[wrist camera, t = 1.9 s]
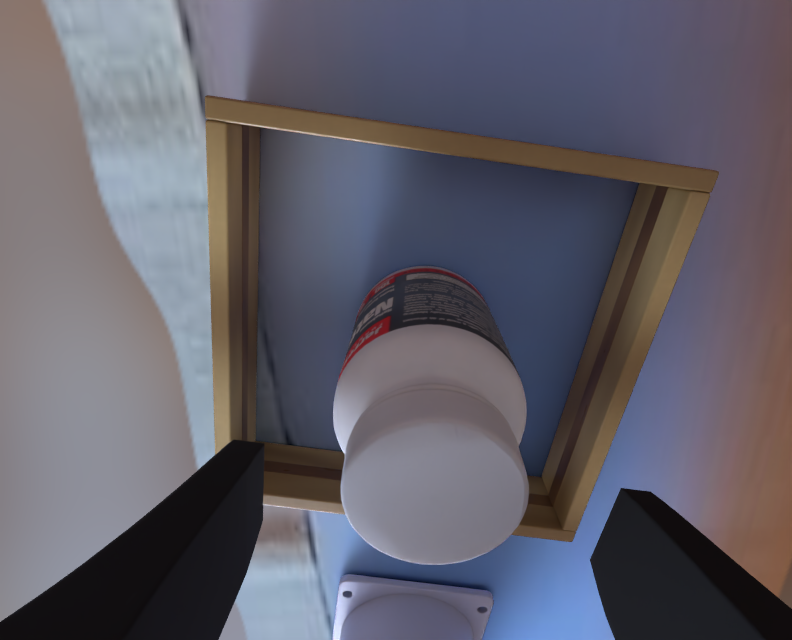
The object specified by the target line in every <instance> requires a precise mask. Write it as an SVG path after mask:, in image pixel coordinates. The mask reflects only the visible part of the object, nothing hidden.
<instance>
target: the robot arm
mask: <svg viewBox="0 0 792 640" xmlns="http://www.w3.org/2000/svg"><path fill="white" fill-rule="evenodd" d="M264 446H265V443H258V442H250V441H242V440H232V441H231V442H229V443H228V444H227V445H226V446H225V447H223V448H222V449H221V450H220V451H219V452H218V453H217V454H216V455H215V456H213V457H212V458H211V459H210V460H209V461H208V462H207V463H206V464H205V465H203V466H202V467H201V468H200V469H199V470H198V471H197V472H196V473H194V474H193V475H192V476H191V477H190V478H189V479H188V480H186V481H185V482H184V483H183V484H182V485H181V486H180V487H178V488H177V489H176V490H175V491H174V492H173V493H171V494H170V495H169V496H168V497H167V498H165V499H164V500H163V501H162V502H161V503H159V504H158V505H157V506H156V507H155V508H153V509H152V510H151V511H150V512H149V513H147V514H146V515H145V516H144V517H143V518H141V519H140V520H139V521H138V522H136V523H135V524H134V525H133V526H131V527H130V528H129V529H128V530H126V531H125V532H124V533H122V534H121V535H120V536H119V537H117V538H116V539H115V540H113V541H112V542H111V543H109V544H108V545H107V546H106V547H104V548H103V549H102V550H100V551H99V552H98V553H96V554H95V555H94V556H93V557H91V558H90V559H89V560H88V561H86V562H85V563H83V564H82V565H81V566H80V567H78V568H77V569H75V570H74V571H73V572H71V573H70V574H68V575H67V576H66V577H64V578H63V579H62V580H60V581H59V582H57V583H56V584H55V585H53V586H52V587H50V588H49V589H48V590H47V591H45V592H43V593H42V594H40V595H39V596H38V597H36V598H35V599H33V600H32V601H30V602H29V603H27V604H26V605H24V606H23V607H22V608H20V609H19V610H17V611H16V612H14V613H13V614H11V615H10V616H8V617H7V618H5V619H4V620H2V621H1V622H0V640H218V639H219V637H220V635H221V632H222V629H223V628H224V625H225V623H226V621H227V618H228V616H229V613H230V611H231V609H232V606H233V604H234V602H235V599H236V597H237V595H238V592H239V590H240V587H241V585H242V583H243V580H244V578H245V575H246V573H247V570H248V567H249V563H250V560H251V557H252V554H253V551H254V548H255V544H256V541H257V538H258V534H259V531H260V528H261V524H262V521H263V488H264ZM590 561H591V565H592V569H593V573H594V577H595V580H596V584H597V588H598V591H599V595H600V598H601V601H602V605H603V608H604V611H605V615H606V617H607V620H608V623H609V625H610V628H611V630H612V633H613V635H614V638H615V640H792V609H791V608H790V607H788V606H787V605H786V604H785V603H784V602H783V601H781V600H780V599H779V598H778V597H777V596H775V595H774V594H773V593H772V592H771V591H769V590H768V589H767V588H766V587H765V586H763V585H762V584H761V583H760V582H759V581H757V580H756V579H755V578H754V577H753V576H751V575H750V574H749V573H748V572H747V571H745V570H744V569H743V568H742V567H741V566H740V565H738V564H737V563H736V562H735V561H734V560H733V559H731V558H730V557H729V556H728V555H727V554H725V553H724V552H723V551H722V550H721V549H720V548H718V547H717V546H716V545H715V544H714V543H713V542H711V541H710V540H709V539H708V538H707V537H706V536H704V535H703V534H702V533H701V532H700V531H698V530H697V529H696V528H695V527H694V526H693V525H691V524H690V523H689V522H688V521H687V520H685V519H684V518H683V517H682V516H681V515H679V514H678V513H677V512H676V511H675V510H673V509H672V508H671V507H670V506H668V505H667V504H666V503H665V502H663V501H662V500H661V499H660V498H658V497H657V496H656V495H654V494H653V493H652V492H648V491H640V490H632V489H624V488H621V490H620V492H619V494H618V497H617V499H616V501H615V503H614V506H613V508H612V510H611V513H610V515H609V517H608V520H607V522H606V524H605V527H604V529H603V531H602V534H601V536H600V538H599V540H598V543H597V545H596V547H595V550H594V552H593V554H592V557H591V559H590ZM493 604H494V600H493V595H492V593H490V592H489V591H486V590H480V589H472V588H463V587H455V586H446V585H438V584H429V583H421V582H412V581H404V580H395V579H387V578H378V577H370V576H361V575H353V574H346V575H343V576H342V577H341V578H340V582H339V590H338V598H337V606H336V614H335V622H334V630H333V638H332V640H482V637H483V634H484V631H485V628H486V625H487V622H488V619H489V616H490V613H491V610H492V607H493Z"/></svg>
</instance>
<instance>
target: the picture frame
mask: <svg viewBox="0 0 792 640" xmlns="http://www.w3.org/2000/svg"><path fill="white" fill-rule="evenodd" d="M205 116H206V119H208V120H206V150H207V185H208V220H209V254H210V289H211V323H212V358H213V392H214V427H215V455H216V454H217V453H218V452H219V451H220V450H221V449H222V448H223V447H225V446H226V445H227V444H228V443H229V442H231V441H232V440H242V441H250V442H258V443H265V446H264V488H263V505H271V506H279V507H287V508H295V509H304V510H312V511H320V512H328V513H336V514H345V512H344V508H343V505H342V501H341V478H342V470H343V465H344V459H345V454H344V453H343V452H340V451H332V450H324V449H316V448H308V447H300V446H292V445H284V444H276V443H268V442H260V441H255V440H256V380H257V313H258V246H259V179H260V127H261V128H268V129H275V130H282V131H289V132H295V133H302V134H309V135H316V136H323V137H330V138H336V139H343V140H350V141H357V142H364V143H371V144H377V145H384V146H391V147H398V148H405V149H412V150H418V151H425V152H432V153H439V154H446V155H453V156H459V157H466V158H473V159H480V160H487V161H494V162H500V163H507V164H514V165H521V166H528V167H535V168H541V169H548V170H555V171H562V172H569V173H576V174H582V175H589V176H596V177H603V178H610V179H617V180H623V181H630V182H637V183H639V186H638V189H637V192H636V195H635V198H634V201H633V204H632V207H631V210H630V213H629V216H628V219H627V222H626V225H625V228H624V231H623V234H622V237H621V240H620V243H619V246H618V249H617V252H616V255H615V258H614V261H613V264H612V267H611V270H610V273H609V276H608V279H607V282H606V285H605V288H604V291H603V294H602V297H601V300H600V303H599V306H598V308H597V311H596V314H595V317H594V320H593V323H592V326H591V329H590V332H589V335H588V338H587V341H586V344H585V347H584V350H583V353H582V356H581V359H580V362H579V365H578V368H577V371H576V374H575V377H574V380H573V383H572V386H571V389H570V392H569V395H568V398H567V401H566V404H565V407H564V410H563V413H562V416H561V419H560V422H559V425H558V428H557V431H556V434H555V437H554V440H553V443H552V446H551V449H550V452H549V455H548V458H547V461H546V464H545V467H544V470H543V473H542V477H538V476H530V475H527V478H528V483H529V497H528V504H527V508H526V511H525V514H524V516H523V518H522V520H521V522H520V524H519V526H518V527H517V528H516V529H515V530H514V532H513V533H512V534H511V535H517V536H525V537H533V538H542V539H550V540H558V541H566V542H572V541H573V539H574V536H575V534H576V531H577V529H578V526H579V524H580V521H581V519H582V516H583V514H584V511H585V509H586V506H587V504H588V501H589V498H590V496H591V493H592V491H593V488H594V486H595V483H596V481H597V478H598V476H599V473H600V471H601V468H602V466H603V463H604V461H605V458H606V456H607V453H608V451H609V448H610V446H611V443H612V441H613V438H614V436H615V433H616V431H617V428H618V426H619V423H620V421H621V418H622V416H623V413H624V411H625V408H626V406H627V403H628V401H629V398H630V396H631V393H632V391H633V388H634V386H635V383H636V381H637V378H638V376H639V373H640V371H641V368H642V366H643V363H644V361H645V358H646V356H647V353H648V351H649V348H650V346H651V343H652V341H653V338H654V336H655V333H656V331H657V328H658V326H659V323H660V321H661V318H662V316H663V313H664V311H665V308H666V305H667V303H668V300H669V298H670V295H671V293H672V290H673V288H674V285H675V283H676V280H677V278H678V275H679V273H680V270H681V268H682V265H683V263H684V260H685V258H686V255H687V253H688V250H689V248H690V245H691V243H692V240H693V238H694V235H695V233H696V230H697V228H698V225H699V223H700V220H701V218H702V215H703V213H704V210H705V208H706V205H707V203H708V200H709V198H710V194H709V193H710V192H712V190H713V188H714V185H715V183H716V180H717V178H718V175H719V172H718V171H716V170H710V169H703V168H696V167H689V166H683V165H676V164H669V163H662V162H655V161H649V160H642V159H635V158H628V157H622V156H615V155H608V154H601V153H595V152H588V151H581V150H574V149H568V148H561V147H554V146H547V145H541V144H534V143H527V142H520V141H514V140H507V139H500V138H493V137H486V136H480V135H473V134H466V133H459V132H453V131H446V130H439V129H432V128H426V127H419V126H412V125H405V124H399V123H392V122H385V121H378V120H372V119H365V118H358V117H351V116H344V115H338V114H331V113H324V112H317V111H311V110H304V109H297V108H290V107H284V106H277V105H270V104H263V103H257V102H250V101H243V100H236V99H230V98H223V97H216V96H209V95H207V96H205Z"/></svg>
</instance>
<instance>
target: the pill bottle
mask: <svg viewBox="0 0 792 640" xmlns="http://www.w3.org/2000/svg"><path fill="white" fill-rule="evenodd" d="M526 416H527V407H526V398H525V393H524V389H523V385H522V382H521V379H520V376H519V374H518V372H517V369H516V367H515V365H514V362H513V360H512V358H511V356H510V353H509V351H508V349H507V347H506V344H505V342H504V340H503V338H502V336H501V334H500V331H499V329H498V327H497V325H496V323H495V320H494V318H493V316H492V314H491V312H490V310H489V308H488V306H487V304H486V302H485V300H484V298H483V297H482V295H481V294H480V292H479V291H478V290H477V289H476V288H475V287H474V285H472V284H471V283H470V282H469V281H468V280H466V279H465V278H464V277H462V276H460V275H459V274H457V273H455V272H453V271H450V270H447V269H444V268H440V267H435V266H414V267H408V268H404V269H401V270H398V271H396V272H393V273H391V274H389V275H388V276H386V277H385V278H383V279H382V280H380V281H379V282H378V283H377V284H376V285H375V286H374V287H373V288H372V289H371V290H370V291H369V293H368V294H367V295H366V297H365V299H364V300H363V302H362V304H361V307H360V309H359V312H358V314H357V318H356V322H355V325H354V329H353V333H352V336H351V340H350V343H349V347H348V349H347V353H346V357H345V360H344V363H343V366H342V370H341V373H340V375H339V379H338V383H337V388H336V392H335V398H334V405H333V423H334V429H335V433H336V437H337V440H338V442H339V445H340V447H341V449H342V451H343V453H344V454H345V459H344V465H343V470H342V478H341V501H342V505H343V508H344V512H345V515H346V517H347V519H348V521H349V523H350V524H351V526H352V527H353V529H354V530H355V531H356V532H357V533H358V534H359V535H360V536H361V537H362V538H363V539H364V540H365V541H366V542H367V543H368V544H370V545H371V546H373V547H374V548H375V549H377V550H379V551H380V552H382V553H384V554H387V555H389V556H391V557H394V558H397V559H400V560H403V561H406V562H411V563H417V564H426V565H442V564H453V563H459V562H463V561H467V560H471V559H473V558H476V557H478V556H481V555H483V554H485V553H487V552H489V551H491V550H492V549H494V548H496V547H497V546H499V545H500V544H501V543H503V542H504V541H505V540H506V539H507V538H508V537H509V536H510V535H511V534H512V533H513V532H514V530H515V529H516V528H517V527H518V526H519V524H520V522H521V520H522V518H523V516H524V514H525V511H526V508H527V504H528V497H529V483H528V478H527V473H526V469H525V466H524V463H523V460H522V456H521V453H520V450H519V445H520V442H521V440H522V436H523V433H524V429H525V424H526Z"/></svg>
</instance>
